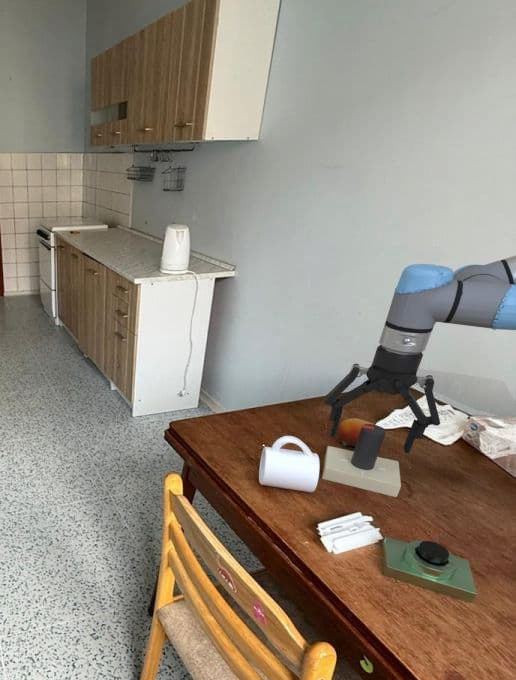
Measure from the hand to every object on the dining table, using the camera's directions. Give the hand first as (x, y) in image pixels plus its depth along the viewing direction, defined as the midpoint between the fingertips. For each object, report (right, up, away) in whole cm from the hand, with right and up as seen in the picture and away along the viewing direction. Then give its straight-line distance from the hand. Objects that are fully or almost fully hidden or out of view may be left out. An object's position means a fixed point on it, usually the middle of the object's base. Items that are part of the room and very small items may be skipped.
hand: (368, 441), depth 101 cm
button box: (-4, -21, -20) cm, 29 cm away
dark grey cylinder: (0, -5, +3) cm, 6 cm away
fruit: (+6, -2, +15) cm, 17 cm away
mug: (-17, -10, +2) cm, 20 cm away
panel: (0, -8, +4) cm, 9 cm away
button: (-4, -18, -22) cm, 28 cm away
